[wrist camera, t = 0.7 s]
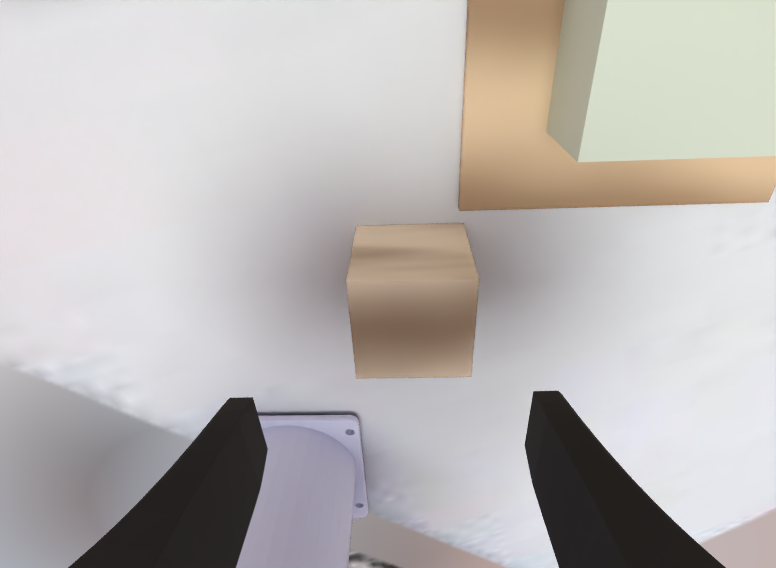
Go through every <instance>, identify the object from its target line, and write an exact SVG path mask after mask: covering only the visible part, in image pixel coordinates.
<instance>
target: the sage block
mask: <svg viewBox="0 0 776 568" xmlns="http://www.w3.org/2000/svg"><path fill="white" fill-rule="evenodd" d="M546 132H547V133H548V134H549V135H550V136H551V137H552V138H553V139H554V140H555V141H556V142H557V143H558V144H559V145H560V146H561V147H562V148H563V149H564V150H565V151H566V152H568V153H569V154H570V155H571V156H572V157H573V158H574V159H575V160H576V161H577V162H603V161H634V160H665V159H697V158H728V157H759V156H776V0H565V4H564V11H563V18H562V25H561V32H560V39H559V46H558V53H557V60H556V67H555V74H554V81H553V88H552V95H551V102H550V109H549V116H548V123H547V130H546Z"/></svg>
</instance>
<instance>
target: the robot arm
mask: <svg viewBox="0 0 776 568" xmlns="http://www.w3.org/2000/svg"><path fill="white" fill-rule="evenodd" d="M350 429H352V430H350ZM525 449H526V454H527V459H528V464H529V469H530V474H531V479H532V483H533V487H534V490H535V494H536V497H537V500H538V503H539V506H540V509H541V513H542V516H543V519H544V522H545V525H546V528H547V531H548V534H549V537H550V541H551V544H552V547H553V550H554V553H555V556H556V559H557V562H558V565H559V568H726V567H724V566H723V565H722V564H721V563H720V562H718V561H717V560H716V559H715V558H714V557H713V556H712V555H711V554H709V553H708V552H707V551H706V550H705V549H704V548H703V547H701V546H700V545H699V544H698V543H697V542H696V541H695V540H694V539H693V538H692V537H690V536H689V535H688V534H687V533H686V532H685V531H684V530H683V529H682V528H681V527H680V526H679V525H678V524H676V523H675V522H674V521H673V520H672V519H671V518H670V517H669V516H668V515H667V514H666V513H665V512H664V511H663V510H662V509H661V508H660V507H659V506H658V505H657V504H656V503H655V502H654V501H653V500H652V499H651V498H650V497H649V496H648V495H647V494H646V493H645V492H644V491H643V490H642V488H641V487H640V486H639V485H638V484H637V483H636V482H635V481H634V480H633V479H632V478H631V477H630V476H629V475H628V474H627V472H626V471H625V470H624V469H623V468H622V467H621V466H620V465H619V463H618V462H617V461H616V460H615V459H614V458H613V457H612V455H611V454H610V453H609V452H608V451H607V450H606V449H605V447H604V446H603V445H602V444H601V443H600V442H599V440H598V439H597V438H596V437H595V436H594V434H593V433H592V432H591V431H590V429H589V428H588V427H587V426H586V425H585V423H584V422H583V421H582V420H581V418H580V417H579V416H578V415H577V413H576V412H575V411H574V409H573V408H572V407H571V406H570V404H569V403H568V402H567V400H566V399H565V398H564V396H563V395H562V394H561V393H560V392H559V391H534V392H533V398H532V404H531V410H530V416H529V422H528V428H527V434H526V441H525ZM367 516H368V500H367V491H366V482H365V473H364V464H363V455H362V446H361V436H360V427H359V420H358V418H357V417H355V416H353V415H291V416H258V414H257V410H256V407H255V403H254V400H253V397H252V398H229V399H228V400H227V401H226V403H225V404H224V405H223V406H222V407H221V409H220V410H219V411H218V412H217V413H216V415H215V416H214V417H213V418H212V420H211V421H210V422H209V423H208V424H207V426H206V427H205V428H204V429H203V431H202V432H201V433H200V434H199V435H198V436H197V438H196V439H195V440H194V441H193V442H192V444H191V445H190V446H189V447H188V449H186V451H185V452H184V453H183V454H182V455H181V456H180V458H179V459H178V460H177V461H176V462H175V464H173V466H172V467H171V468H170V469H169V470H168V471H167V472H166V474H165V475H164V476H163V477H162V478H161V479H160V480H159V481H158V482H157V483H156V485H154V486H153V488H152V489H151V490H150V491H149V492H148V493H147V494H146V495H145V496H144V497H143V498H142V499H141V500H140V501H139V502H138V503H137V504H136V505H135V506H134V507H133V508H132V509H131V510H130V511H129V512H128V513H127V515H125V517H123V518H122V519H121V520H120V521H119V522H118V524H116V525H115V526H114V527H113V528H112V529H111V530H110V531H109V532H108V533H107V534H106V535H104V536H103V538H101V539H100V540H99V541H98V542H97V543H96V544H95V545H94V546H93V547H91V548H90V549H89V550H88V551H87V552H86V553H85V554H83V556H81V557H80V558H79V559H78V560H77V561H75V563H73V564H72V565H71V566H70V567H68V568H348V563H349V552H350V540H351V529H352V518H365V517H367Z"/></svg>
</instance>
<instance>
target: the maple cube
mask: <svg viewBox="0 0 776 568" xmlns="http://www.w3.org/2000/svg"><path fill="white" fill-rule="evenodd" d="M346 286H347V295H348V305H349V314H350V323H351V333H352V342H353V351H354V361H355V370H356V379H365V378H429V377H471V376H472V363H473V350H474V338H475V325H476V312H477V300H478V287H479V277H478V273H477V270H476V266H475V262H474V259H473V255H472V252H471V248H470V244H469V241H468V237H467V234H466V230H465V226H464V223H443V224H406V225H370V226H356V230H355V236H354V241H353V247H352V252H351V258H350V263H349V269H348V275H347V280H346Z"/></svg>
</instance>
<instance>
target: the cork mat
mask: <svg viewBox="0 0 776 568" xmlns="http://www.w3.org/2000/svg"><path fill="white" fill-rule="evenodd" d="M564 4H565V0H468V9H467V31H466V53H465V75H464V96H463V118H462V140H461V162H460V184H459V206H458V207H459V211H472V210H507V209H543V208H578V207H614V206H649V205H685V204H721V203H756V202H769V200H770V198H771V195H772V193H773V191H774V188H775V186H776V156H759V157H728V158H697V159H665V160H634V161H603V162H577V161H576V160H575V159H574V158H573V157H572V156H571V155H570V154H569V153H568V152H566V151H565V150H564V149H563V148H562V147H561V146H560V145H559V144H558V143H557V142H556V141H555V140H554V139H553V138H552V137H551V136H550V135H549V134H548V133H547V132H546V130H547V123H548V116H549V109H550V102H551V95H552V88H553V81H554V74H555V67H556V60H557V53H558V46H559V39H560V32H561V25H562V18H563V11H564Z"/></svg>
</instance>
